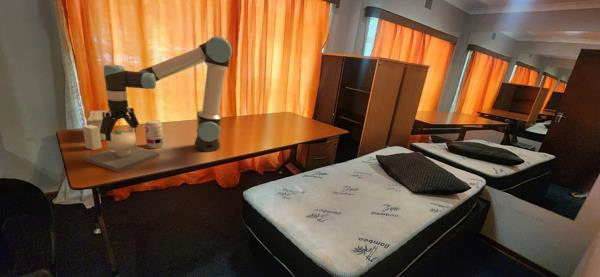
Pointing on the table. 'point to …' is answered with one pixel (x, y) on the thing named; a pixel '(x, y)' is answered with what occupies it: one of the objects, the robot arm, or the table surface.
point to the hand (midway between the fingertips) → (122, 142)
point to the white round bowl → (123, 140)
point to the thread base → (121, 158)
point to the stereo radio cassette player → (96, 120)
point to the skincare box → (92, 137)
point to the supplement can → (154, 133)
